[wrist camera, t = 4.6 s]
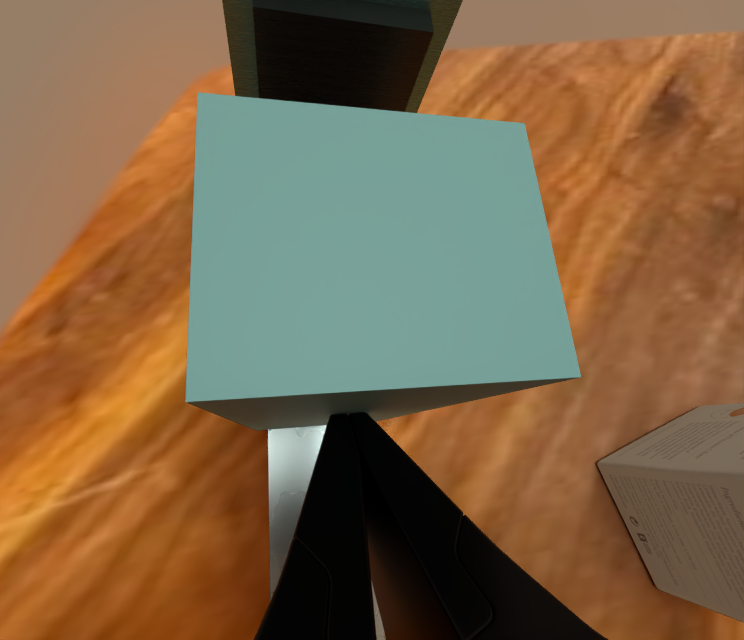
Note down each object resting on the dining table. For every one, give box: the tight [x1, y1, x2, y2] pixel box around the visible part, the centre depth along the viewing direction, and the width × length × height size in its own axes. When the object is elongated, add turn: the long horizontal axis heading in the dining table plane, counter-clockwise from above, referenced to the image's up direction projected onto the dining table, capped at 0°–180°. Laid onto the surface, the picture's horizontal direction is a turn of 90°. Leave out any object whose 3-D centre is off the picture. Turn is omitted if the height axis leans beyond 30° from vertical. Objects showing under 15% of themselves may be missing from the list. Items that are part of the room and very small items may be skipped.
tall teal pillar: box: [185, 93, 581, 431], centre depth 11 cm, size 5×5×12 cm
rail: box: [222, 0, 462, 640], centre depth 12 cm, size 20×5×14 cm, turn 4°
